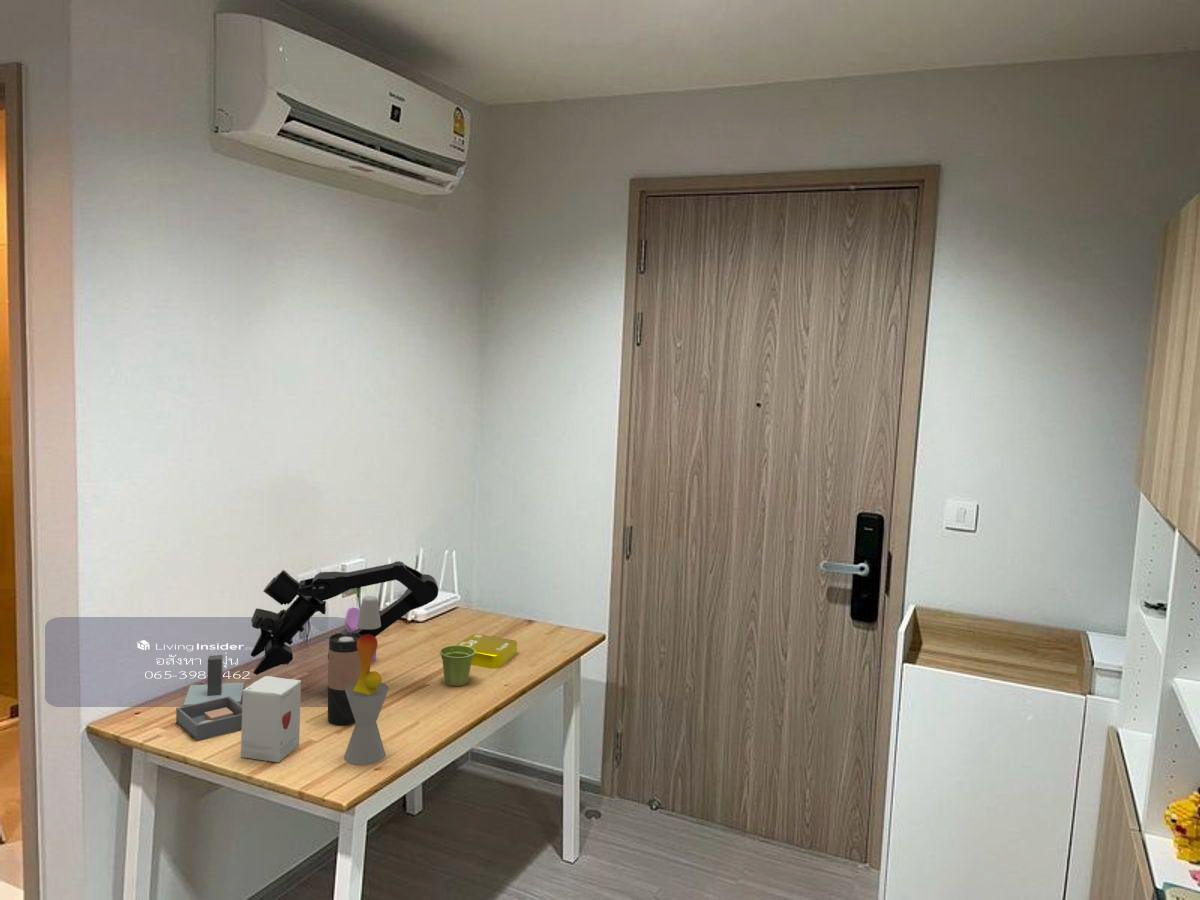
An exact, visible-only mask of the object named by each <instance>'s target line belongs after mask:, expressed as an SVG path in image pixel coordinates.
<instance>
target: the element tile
mask: <svg viewBox="0 0 1200 900" xmlns="http://www.w3.org/2000/svg"><path fill="white" fill-rule="evenodd" d="M455 645H463V646H469V647H472V648H474V649H475V651H476V652H475V654H474V656H473V659H472V662H471V666H474V667H475V666H476V667H481V668H486V669H494V670H495V669H501V668H502V667H504V666H505V665H506V664H508V663H509V662H510V661H511V660H512V659H514V658H516V657H517V653H518V641H517V640H514V639H509V638H508V639H507V638H502V637H497V636H490V635H485V634H478V633H474V634H471V635H469V636H468V637H466V638H463V640H461V641H460V642H458V643H456V644H455Z"/></svg>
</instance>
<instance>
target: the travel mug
mask: <svg viewBox="0 0 1200 900" xmlns="http://www.w3.org/2000/svg"><path fill="white" fill-rule="evenodd" d="M360 637H361V635H360V634H357V633H351V634H349V635H344V634H342V633H341V632H338V633H333V634H332V635H330V636H329V639H328V651H329V661H328V660H327V661H328V662H327V663H328V664H327V665H328V666H327V667H328V668H327V669H328V670H327V721H328V723H329V724H330V725H331V726H332V725H333V726H341V727H342V726H351V725H355V724H356V722H355V719H354V716H353V713H352V710H351V707H350V704H349V701H348V698H347V695H346V692H345V689H346V687H347V686H349V685H351V684H353V683H357V682H358V679H359V676H360V671H361V661H360V656H359V653H358V649H357V641H358V639H359V638H360Z"/></svg>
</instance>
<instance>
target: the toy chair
mask: <svg viewBox="0 0 1200 900" xmlns="http://www.w3.org/2000/svg"><path fill="white" fill-rule="evenodd" d="M359 614H360V609H359V608H358V607H350V608H348V609H347V610H346V613H345V617H344V623H345V626H346V627H347V628H346V629H347V630H348V632H351V631H355V630H357V628H358V627H357V624H358V619H359ZM375 638H376V640H377V641H378V638H377V636H376V637H375ZM376 660H377V649H376V651H375V653H374V655H373V658H372V661H371V664H372V663H374V662H375V661H376Z"/></svg>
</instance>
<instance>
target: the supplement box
mask: <svg viewBox="0 0 1200 900" xmlns="http://www.w3.org/2000/svg"><path fill="white" fill-rule="evenodd" d="M301 687H302V680H300V679H292V678H285V677H284V678H282V677H277V676H270V675H265V676H263V677H261V678H260V679H258V680H256V681H254V682H253V683H251V684H250V685H249V686H247V687H246V688H245V687H244V689H243V694H242V699H241V705H242V730H241V735H240V737H241V738H240V739H241V740H240V757H241V758H247V759H253V760H257V761H265V762H266V761H267V762H271V763H273V762H274V763H276V764H277V763H280V762H281V761H282V760H283V759H285V758H286V757H287V756H288V755H289V754H291V753H292V752H293V751H295V750H296V749H297V748H299V746H300V727H301V726H300V724H301V723H300V721H301V695H302V694H301V693H302V692H301V690H302V688H301Z"/></svg>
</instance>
